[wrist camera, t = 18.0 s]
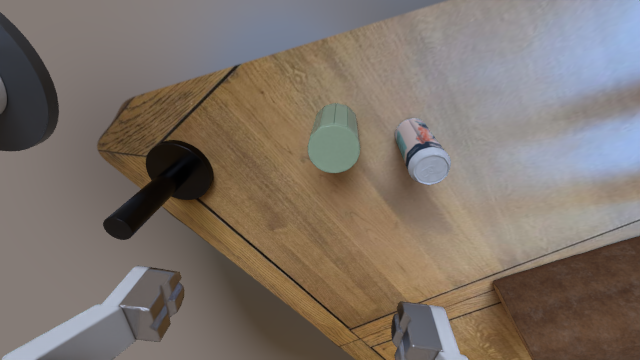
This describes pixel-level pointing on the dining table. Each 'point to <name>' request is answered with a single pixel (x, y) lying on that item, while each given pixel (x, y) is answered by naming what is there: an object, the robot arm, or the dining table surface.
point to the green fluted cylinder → (334, 139)
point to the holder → (163, 185)
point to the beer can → (422, 152)
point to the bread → (578, 305)
